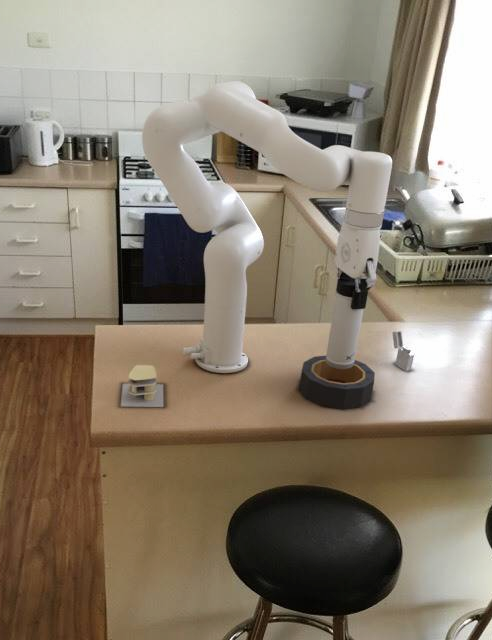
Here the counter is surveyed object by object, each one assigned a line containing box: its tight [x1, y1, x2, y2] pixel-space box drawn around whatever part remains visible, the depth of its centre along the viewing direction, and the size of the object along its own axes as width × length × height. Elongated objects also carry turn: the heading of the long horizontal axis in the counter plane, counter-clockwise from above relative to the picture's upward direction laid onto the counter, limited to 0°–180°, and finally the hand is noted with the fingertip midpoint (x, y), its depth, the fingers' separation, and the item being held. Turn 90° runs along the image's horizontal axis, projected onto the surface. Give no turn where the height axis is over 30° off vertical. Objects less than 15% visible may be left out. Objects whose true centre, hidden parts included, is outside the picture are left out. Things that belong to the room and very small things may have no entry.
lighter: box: [391, 330, 415, 372], centre depth 170 cm, size 7×2×8 cm, turn 28°
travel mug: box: [325, 276, 365, 369], centre depth 149 cm, size 6×7×20 cm
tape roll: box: [298, 355, 376, 410], centre depth 157 cm, size 16×16×5 cm
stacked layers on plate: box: [120, 364, 164, 408], centre depth 149 cm, size 10×9×6 cm
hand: (350, 301), depth 147 cm, fingers closed on travel mug, 6 cm apart
